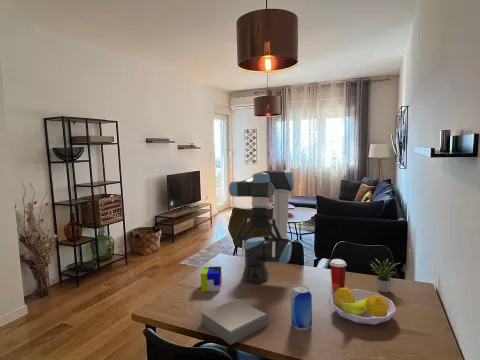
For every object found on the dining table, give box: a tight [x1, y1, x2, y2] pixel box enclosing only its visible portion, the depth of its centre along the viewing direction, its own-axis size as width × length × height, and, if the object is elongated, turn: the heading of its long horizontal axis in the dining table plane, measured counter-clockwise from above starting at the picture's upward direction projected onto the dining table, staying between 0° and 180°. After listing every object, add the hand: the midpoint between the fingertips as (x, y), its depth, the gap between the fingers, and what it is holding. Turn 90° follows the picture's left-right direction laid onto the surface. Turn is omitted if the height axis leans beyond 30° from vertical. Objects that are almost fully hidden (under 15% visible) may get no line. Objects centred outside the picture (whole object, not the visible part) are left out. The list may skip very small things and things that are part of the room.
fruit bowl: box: [330, 287, 397, 326], centre depth 136 cm, size 28×27×11 cm
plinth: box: [200, 298, 269, 346], centre depth 132 cm, size 20×20×5 cm
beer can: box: [290, 285, 313, 331], centre depth 129 cm, size 8×8×16 cm
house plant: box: [369, 258, 401, 293], centre depth 159 cm, size 14×14×16 cm
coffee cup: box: [329, 258, 347, 292], centre depth 162 cm, size 8×8×15 cm
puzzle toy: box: [200, 266, 223, 292], centre depth 169 cm, size 10×10×10 cm
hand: (258, 256), depth 135 cm, fingers open, 13 cm apart
